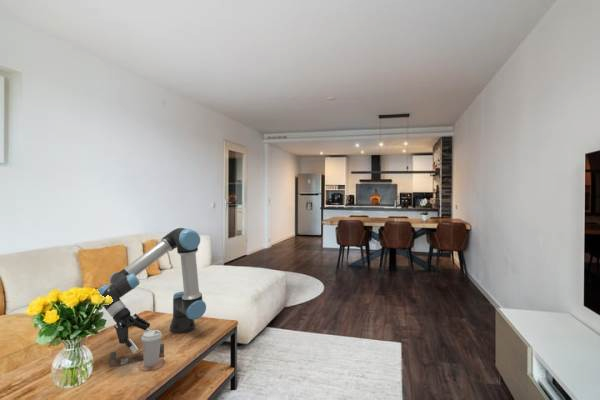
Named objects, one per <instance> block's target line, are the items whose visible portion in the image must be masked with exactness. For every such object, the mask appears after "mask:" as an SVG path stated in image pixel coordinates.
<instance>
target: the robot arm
mask: <svg viewBox="0 0 600 400" xmlns="http://www.w3.org/2000/svg"><path fill="white" fill-rule="evenodd" d="M200 243H201V237H200V234H199V232H197V231H196V230H194V229H191V228H183V227H178V228H175V229H173V230H171V231H170V232H168V233H167V234H166V235H164V236H163V237H162V238H161V240H160V241H159V242H158V243H156V244H155V245H154V246H152V247H150V249H148V250H147V251H146V252H144V253H143V254H141V255H140V256H139V257H137V258H136V259H135V260H133V261H132V262H131V263H129V264H128V265H127V266H126V267H124V268H123V269H121V270H120V271H117V272H113V273H112V274H111V275H110V277H109V283H110V285H111V286H110V285H109V284H105V285H103V286H101V287H99V288H98V289H97V290H98V291H99V292H100V294H101V295H102V296H104V297H106V296H107V295H109V296H111V297H112V299H113V302H112V303H111V304H109V305H103V308H104V309H105V310H106V312H108V315H109V316H111V317H112V319H113V321H114V322H115V325H114V326H113V327H114V329H115V331H116V335H117V339H118V343H119V344H120V345H121V344H122V345H124V344H125V345H126V347H127V348H128V349H130V351H131V352H132V353H133V354H136V352H137V351H138V350H139V348H138V346H137V345H136V344H135V343H134V341H133V340H132V339H131V338H129V328H131V327H135V328H137V329H140V330H142V331H143V333H145V332H147V331H151V330H152V329H151V328H150V327H151V323H150V322H148V321H147V320H145V319H143V318H142V317H140V316H139V315H138V314H137V313H134V314H133V315H131V311H130V310H129V308H128V307H126V305H125V303H124V302H123V301H122V299H121V298H122V297H124V296H125V295H126V294H128V293H129V292H131V291H132V290H134V289H135V288H136V287H138V286H139V285H140V283H141V282H140V280H139V278H138V277H137V276H138V275H139V274H141V273H142V272H143V271H145V270H146V269H147V268H149V267H150V266H151V265H152V264H154V263H156V262H157V260H159V259H161V257H163V256H164V255H166V254H167V253H168V252H172V251H173V250H175V249H176V250H177V254H178V255H180V263H181V265H180V266H181V274H182V285H183V291H179V292H176V293H174V294H173V299H172V319H171V321H170V325H169V331H170V332H171V333H174V334H183V333H184V334H185V333H188V332H191V331H193V330H195V329H196V321H195V320H198V319H199V320H200V318H202V317H203V316H204V314H205V313H206V311H207V304H206V302H205V301H204V300H203V294H202V293H201V292H200V289H199V288H200V287H199V278H198V267H197V266H198V265H197V255H196V253H197V252H198V251H199V245H200Z"/></svg>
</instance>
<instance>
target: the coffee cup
mask: <svg viewBox="0 0 600 400" xmlns="http://www.w3.org/2000/svg"><path fill="white" fill-rule="evenodd" d="M150 330H151V331H147V332H143V334H142V335H141V338H140V340H141V344H142V353H143V358H144V360H143V361H144V366H145V367H152V366H155V365H157V364H158V362H159V358H160V357H159V353H160V344H162V337H163V334H162V333H161V330H158V329H150Z"/></svg>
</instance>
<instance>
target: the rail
mask: <svg viewBox="0 0 600 400" xmlns="http://www.w3.org/2000/svg"><path fill="white" fill-rule="evenodd" d="M164 356H165V343H162V342H161V344H160V353H159V362H158V364H157V365H155V366H152V367H145V366H144V358H143V352H140V353H139V352H138V353H133V354H128V355H122V356H117V352H116V351H112V352H110V354H109V357H110V358H109V367H118V366H122V365H127V364H132V363H138V362H139V363H138V365H137V368H138V370H140V371H143V372H151V371H156V370H158V369H160V368H162V367H164V365H165V363H166V360H165V359H164V358H163V357H164Z"/></svg>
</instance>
